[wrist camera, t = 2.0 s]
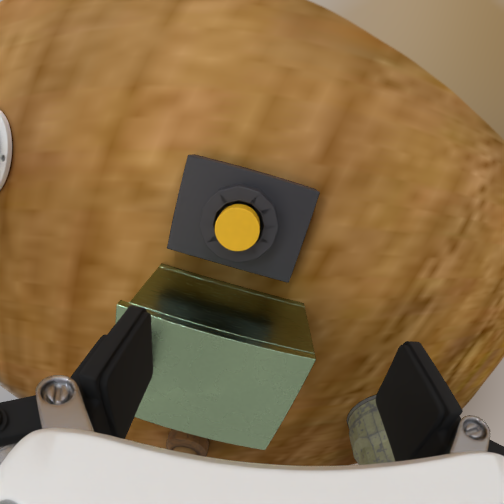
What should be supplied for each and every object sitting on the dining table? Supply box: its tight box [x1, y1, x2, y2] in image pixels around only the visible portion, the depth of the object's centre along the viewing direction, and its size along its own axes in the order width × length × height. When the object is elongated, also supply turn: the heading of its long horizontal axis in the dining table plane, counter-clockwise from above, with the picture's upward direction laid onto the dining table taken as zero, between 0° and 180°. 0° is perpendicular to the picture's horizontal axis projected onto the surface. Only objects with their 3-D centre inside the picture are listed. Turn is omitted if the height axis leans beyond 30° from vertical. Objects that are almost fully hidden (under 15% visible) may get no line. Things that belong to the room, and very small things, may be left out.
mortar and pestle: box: [166, 429, 209, 457], centre depth 33 cm, size 7×6×18 cm
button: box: [215, 204, 260, 251], centre depth 26 cm, size 4×4×2 cm
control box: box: [167, 154, 320, 282], centre depth 28 cm, size 12×9×4 cm
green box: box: [130, 264, 314, 354], centre depth 30 cm, size 16×14×9 cm
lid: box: [116, 300, 316, 450], centre depth 23 cm, size 16×14×5 cm
